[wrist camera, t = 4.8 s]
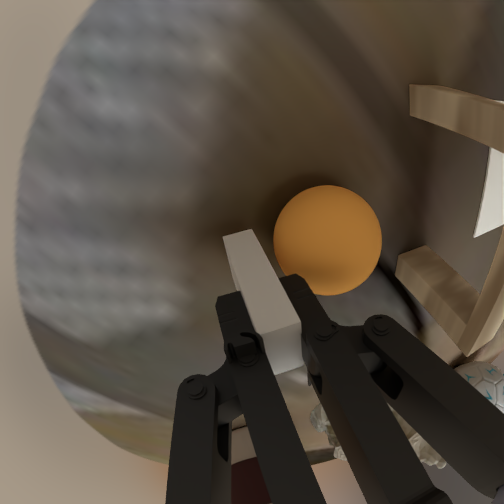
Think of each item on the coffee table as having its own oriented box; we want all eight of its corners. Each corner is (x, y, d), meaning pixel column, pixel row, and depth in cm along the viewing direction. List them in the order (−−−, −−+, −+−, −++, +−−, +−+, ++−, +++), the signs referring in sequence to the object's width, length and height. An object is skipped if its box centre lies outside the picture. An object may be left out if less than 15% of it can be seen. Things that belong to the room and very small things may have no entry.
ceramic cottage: (317, 395, 30) (376, 512, 19) (426, 348, 34) (485, 435, 23) (296, 439, 40) (334, 522, 28) (386, 402, 44) (426, 472, 32)
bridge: (440, 85, 15) (563, 128, 7) (421, 264, 23) (492, 338, 16) (409, 84, 14) (544, 127, 7) (394, 275, 23) (466, 357, 15)
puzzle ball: (408, 396, 41) (451, 465, 29) (477, 333, 38) (529, 398, 26) (426, 404, 50) (460, 458, 38) (481, 355, 46) (520, 406, 34)
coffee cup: (188, 445, 30) (216, 559, 18) (250, 410, 28) (297, 543, 16) (244, 454, 36) (275, 547, 24) (301, 423, 34) (345, 524, 22)
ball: (241, 200, 14) (314, 162, 17) (259, 288, 17) (319, 242, 20) (342, 236, 11) (403, 184, 13) (339, 335, 14) (394, 273, 16)
